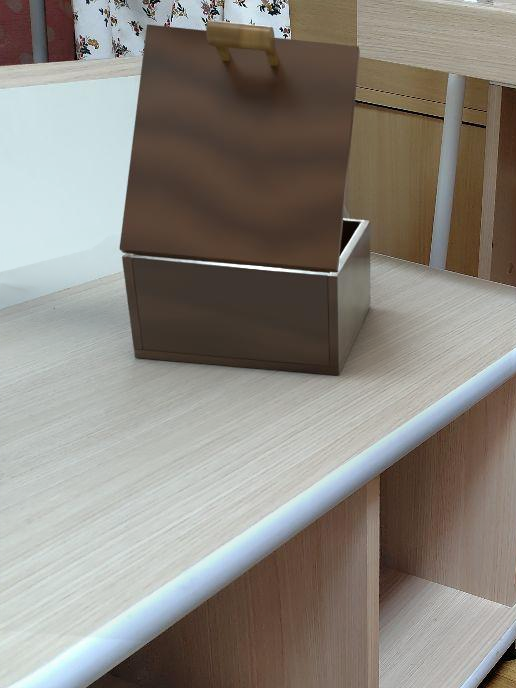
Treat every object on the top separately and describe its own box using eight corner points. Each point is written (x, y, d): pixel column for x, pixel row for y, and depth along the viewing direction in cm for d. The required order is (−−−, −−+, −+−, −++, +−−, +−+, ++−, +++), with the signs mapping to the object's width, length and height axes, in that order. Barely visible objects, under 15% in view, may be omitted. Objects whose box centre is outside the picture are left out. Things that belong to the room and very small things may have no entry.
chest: (198, 291, 101) (190, 203, 97) (370, 307, 102) (370, 220, 97) (134, 357, 85) (121, 256, 81) (338, 375, 86) (337, 276, 82)
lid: (149, 29, 83) (128, -9, 78) (360, 51, 84) (352, 14, 79) (122, 253, 81) (98, 227, 76) (338, 273, 82) (328, 249, 77)
